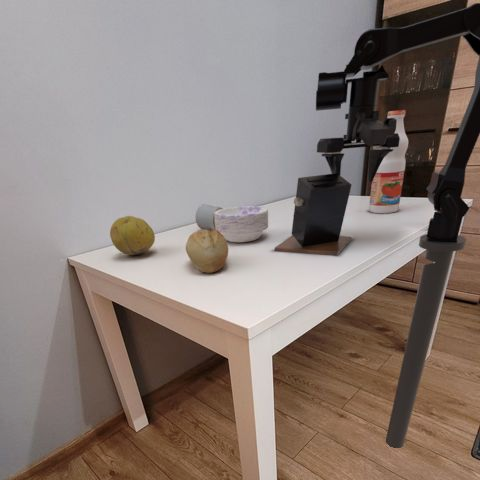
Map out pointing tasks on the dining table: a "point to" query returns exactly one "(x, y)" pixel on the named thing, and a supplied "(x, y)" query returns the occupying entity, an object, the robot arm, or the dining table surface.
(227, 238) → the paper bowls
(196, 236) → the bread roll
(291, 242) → the board
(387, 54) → the robot arm
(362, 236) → the dining table surface
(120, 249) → the fruit
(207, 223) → the ceramic mug
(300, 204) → the toaster
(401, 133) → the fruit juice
